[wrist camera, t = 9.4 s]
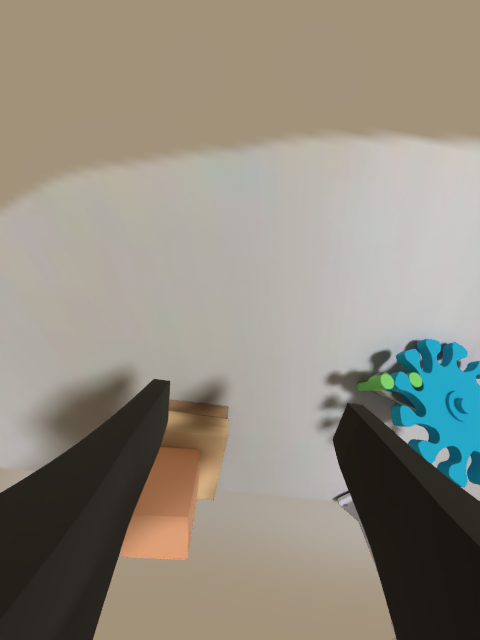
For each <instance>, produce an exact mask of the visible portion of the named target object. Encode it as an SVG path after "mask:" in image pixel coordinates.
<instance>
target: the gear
mask: <svg viewBox="0 0 480 640" xmlns="http://www.w3.org/2000/svg"><path fill="white" fill-rule="evenodd" d="M417 348H418V350H419V352H420V354H421V356H422V359H423V370H422V369H421V367H420V355H419V353H418V351H417V350H416V349H410V350H407V351H404V352H401V353H399V354H397V355H396V358H397V361H398V362H399V363H400V364H401V365H402V366H403V367H404V368H405V369H406V370H407V371H408V374H405V373H404V372H401V371H400V372H395V373H392V374H391V375H390V374H388V373H386V372H382V373H377V374H374V375H373V376H372V377H370V378H369V380H368V381H367V382H362V383H358V384H357V389H358V390H359V391H361V392H362V391H369V390H374V391H375V392H376V393H377V394H379V395H381V396H384V397H386V398H388V399H390V400H393V401H395V402H397V403H396V405H395V406H392V408H391V416H392V422H393V424H394V425H396V426H407V427H410V426H412V425H414V424H417V425H420V426H422V427H424V428H425V429H426V430H427V431H428V434H429V440H428V441H425V440H416V439H413V440H410V441H409V443H408V445H409V446H410V447H412V448H413V449H414V450H415V451H416V452H417V453H419V454H420V455H421V456H422V457H423V458H425V459H426V460H427V461H428V462H429V463H433V462H434V461H435V459H436V456H437V454H438V452H439V451H440V450H441V449H443V448H445V447H447V449H448V450H449V454H450V457H449V459H448V460H447V461H444V462H441V463H439V464H438V467H437V469H438V470H439V471H441V472H442V473H443V474H444V475H445V476H447V477H448V478H449V479H450V480H452V481H453V482H454V483H456V484H457V485H458V486H460V487H465V486H466V484H467V475H468V479H469V481H470V482H472V483H474V484H478V485H480V386H479V385H478V383H477V381H476V379H480V361H476V362H471V363H469V364H468V366H467V368H466V369H465V370H464V371H461V370H460V369H459V368H458V366H457V360H458V359H462V358H465V357H466V356H467V351H466V349H465V348H463V347H462V346H461V345H459V344H458V343H456V342H454V343H450V344H446V345H444V346H443V360H442V363H441V364H439V363H438V361H437V355H438V353H439V352H440V351H441V345H440V343H439V342H438V341H436V340H432V339H425V340H422V341H419V342H417ZM469 456H471V459H472V462H471V465H470V466H469V468H468V471H467V474H466V465H467V460H468V458H469Z"/></svg>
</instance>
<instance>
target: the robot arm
mask: <svg viewBox="0 0 480 640" xmlns="http://www.w3.org/2000/svg"><path fill="white" fill-rule="evenodd" d="M169 394H170V381H166V380H158V379H154V380H153V381H151V382H150V383H149V384H148V385H147V386H146V387H145V388H144V389H143V390H142V391H141V392H139V393H138V394H137V395H136V396H135V397H134V398H133V399H132V400H131V401H130V402H128V403H127V404H126V405H125V406H124V407H123V408H121V409H120V410H119V411H118V412H117V413H116V414H115V415H113V416H112V417H111V418H110V419H109V420H107V421H106V422H105V423H103V424H102V425H101V426H100V427H98V428H97V429H96V430H95V431H93V432H92V433H91V434H89V435H88V436H87V437H85V438H84V439H83V440H81V441H80V442H79V443H77V444H76V445H75V446H73V447H72V448H70V449H69V450H67V451H66V452H65V453H63V454H62V455H60V456H59V457H57V458H56V459H54V460H53V461H51V462H50V463H48V464H47V465H45V466H43V467H42V468H40V469H39V470H37V471H36V472H34V473H32V474H31V475H29V476H28V477H26V478H24V479H23V480H21V481H20V482H18V483H17V484H15V485H13V486H11V487H10V488H8V489H6V490H5V491H3V492H1V493H0V640H93V637H94V634H95V630H96V627H97V624H98V620H99V617H100V614H101V610H102V607H103V604H104V601H105V598H106V594H107V591H108V588H109V585H110V582H111V578H112V575H113V572H114V569H115V566H116V563H117V560H118V557H119V554H120V551H121V547H122V544H123V541H124V538H125V535H126V532H127V529H128V526H129V523H130V521H131V518H132V515H133V513H134V510H135V508H136V505H137V503H138V500H139V498H140V496H141V493H142V491H143V488H144V486H145V483H146V481H147V479H148V476H149V474H150V471H151V469H152V466H153V464H154V462H155V459H156V457H157V454H158V452H159V449H160V447H161V444H162V440H163V437H164V434H165V430H166V427H167V423H168V416H169ZM333 443H334V447H335V452H336V456H337V459H338V463H339V466H340V469H341V472H342V474H343V477H344V480H345V482H346V485H347V488H348V490H349V493H348V494H346V495H344V496H342V497H340V498H338V500H337V501H338V504H339V505H340V506H341V507H343V508H344V509H345V510H346V511H347V512H348V513H349V514H350V515H352V516H353V517H354V518H355V519H356V520H357V521H358V522H359V524H360V527H361V529H362V532H363V534H364V537H365V540H366V542H367V545H368V548H369V550H370V553H371V555H372V558H373V561H374V563H375V566H376V569H377V571H378V574H379V577H380V581H381V584H382V587H383V591H384V595H385V598H386V602H387V605H388V609H389V613H390V616H391V620H392V623H391V624H392V626H393V629H394V632H395V635H396V638H394V639H393V640H480V501H478V500H477V499H476V498H474V497H473V496H472V495H470V494H469V493H467V492H466V491H465V490H463V489H462V488H461V487H460V486H458V485H457V484H456V483H454V482H453V481H452V480H450V479H449V478H448V477H447V476H445V475H444V474H443V473H442V472H441V471H439V470H438V469H437V468H436V467H434V466H433V465H432V464H431V463H429V462H428V461H427V460H426V459H425V458H423V457H422V456H421V455H420V454H419V453H417V452H416V451H415V450H414V449H413V448H412V447H410V446H409V445H408V444H407V443H406V442H405V441H403V440H402V439H401V438H400V437H399V436H398V435H397V434H395V433H394V432H393V431H392V430H391V429H390V428H389V427H388V426H386V425H385V424H384V423H383V422H382V421H381V420H380V419H378V418H377V417H376V416H375V415H374V414H373V413H371V412H370V411H369V410H368V409H366V408H365V407H364V406H363V405H358V404H350V403H347V406H346V408H345V411H344V413H343V416H342V418H341V420H340V423H339V425H338V428H337V430H336V433H335V435H334V437H333Z"/></svg>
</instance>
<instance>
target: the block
mask: <svg viewBox="0 0 480 640" xmlns="http://www.w3.org/2000/svg"><path fill="white" fill-rule="evenodd" d="M199 458H200V449H188V448H170V447H160V449H159V452H158V454H157V457H156V459H155V462H154V464H153V466H152V469H151V471H150V474H149V476H148V479H147V481H146V483H145V486H144V488H143V491H142V493H141V496H140V498H139V500H138V503H137V505H136V508H135V510H134V513H133V515H132V518H131V521H130V523H129V526H128V529H127V532H126V535H125V538H124V541H123V544H122V547H121V551H120V552H121V557H133V558H159V559H161V558H162V559H185V560H187V559H188V553H189V547H190V540H191V534H192V527H193V521H194V514H195V507H196V501H197V494H198V488H199Z"/></svg>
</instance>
